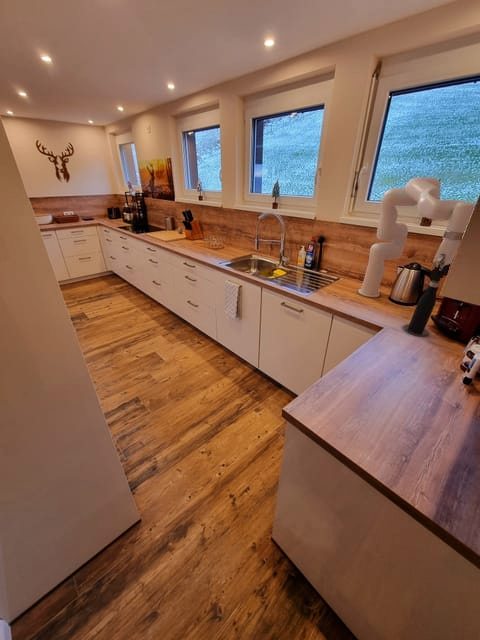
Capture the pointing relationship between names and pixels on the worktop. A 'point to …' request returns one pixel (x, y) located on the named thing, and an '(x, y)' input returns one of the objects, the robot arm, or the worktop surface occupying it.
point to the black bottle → (425, 306)
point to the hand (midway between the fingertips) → (438, 276)
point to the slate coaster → (415, 332)
